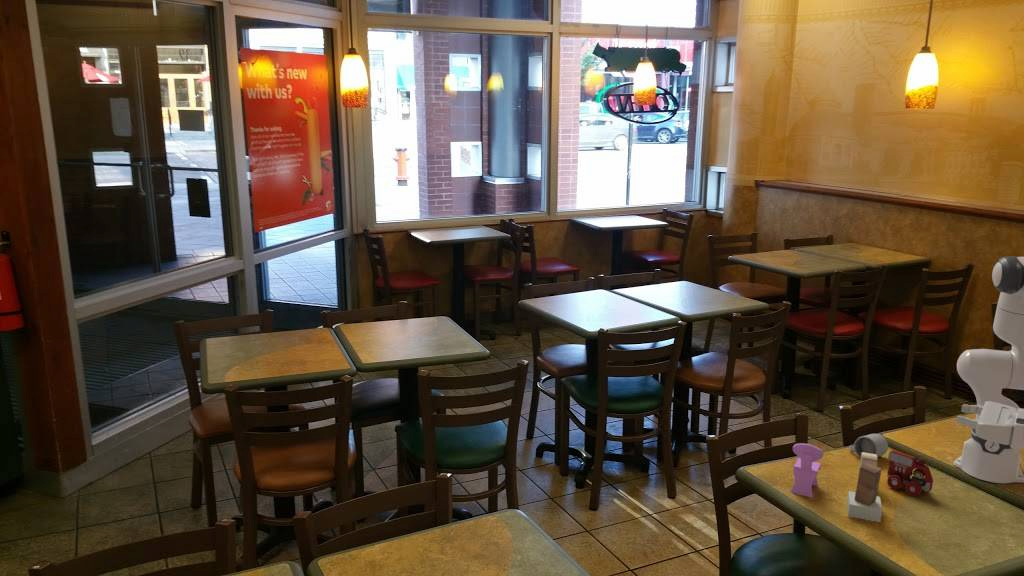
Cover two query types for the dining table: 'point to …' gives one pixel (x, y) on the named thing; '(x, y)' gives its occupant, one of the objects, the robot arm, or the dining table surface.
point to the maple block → (868, 459)
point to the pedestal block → (864, 508)
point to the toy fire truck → (908, 473)
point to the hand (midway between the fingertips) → (959, 413)
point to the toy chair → (806, 468)
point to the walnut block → (868, 484)
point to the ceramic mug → (870, 445)
